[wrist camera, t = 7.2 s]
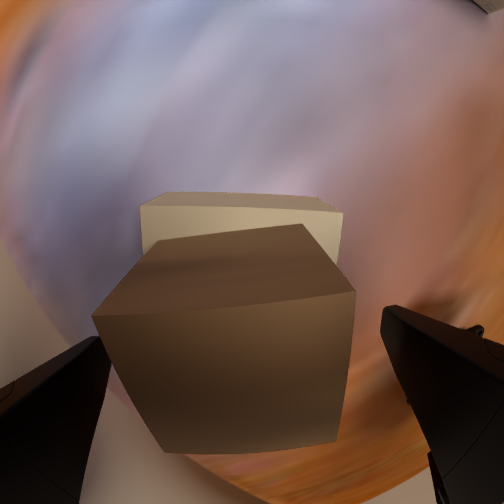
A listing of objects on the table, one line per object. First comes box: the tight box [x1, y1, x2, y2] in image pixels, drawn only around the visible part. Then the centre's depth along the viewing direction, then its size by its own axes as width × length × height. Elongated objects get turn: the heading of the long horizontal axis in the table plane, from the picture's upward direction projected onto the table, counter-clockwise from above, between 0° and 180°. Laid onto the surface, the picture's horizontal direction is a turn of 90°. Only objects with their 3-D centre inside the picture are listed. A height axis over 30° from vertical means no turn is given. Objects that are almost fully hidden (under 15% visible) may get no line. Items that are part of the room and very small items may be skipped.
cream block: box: [140, 192, 343, 265], centre depth 12 cm, size 7×7×4 cm
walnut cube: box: [92, 223, 356, 454], centre depth 8 cm, size 5×5×5 cm
